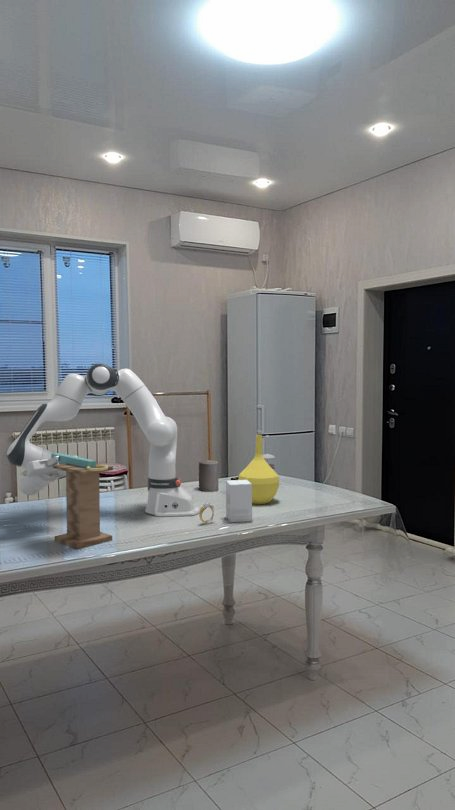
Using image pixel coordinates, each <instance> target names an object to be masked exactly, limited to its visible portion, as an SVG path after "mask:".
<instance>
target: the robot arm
mask: <svg viewBox="0 0 455 810" xmlns="http://www.w3.org/2000/svg"><path fill="white" fill-rule="evenodd" d="M110 391H113V392H115V393H116V394H117V395H118V396H119V397H120V399H121V400H122V401H123V403H124V404H125V407H127V408H128V409H129V411H130V413H131V414H132V415H133V416H134V418H135V420H136V421H137V424H138V426H139V427H140V429H141V430H142V432H143V434H144V435H145V437H146V439H147V440H148V442H149V443H150V444H149V445H150V446H149V447H150V449H149V456H148V478H147V492H148V495H147V502H146V506H145V510H144V512H145V513H146V514H149V515H154V516H155V517H181V516H182V517H183V516H184V517H185V516H187V517H188V516H195V515H199V511H200V506H198V505H195V500H194V497H193V495H192V494H191V493H190V492H189V491H187V490H186V489H185V488H184V487H182V486H181V483H182V482H181V478H179V477H177V476H176V475H177V473H176V469H177V467H176V465H177V463H176V461H177V459H176V458H177V445H178V444H177V443H178V442H177V441H178V425H177V423H176V421H175V420H174V419H173V418H171V417H169V416H166V415H165V414H164V412H163V410H162V408H161V407H160V405H159V403H158V402H157V401H158V400H157V399H156V398H155V396H154V395H153V394H152V393H151V391H150V390H149V388H147V386H146V385H145V383H144V382H143V380H141V378H140V377H139V376H138V375H137V374H136V373H135V372H133V371H132V370H131V369H130V368H122V369H119V370H117V369H116V368H114V367H112V366H109V365H107V364H105V363H95V364H94V365H92V366H90V367H89V369H88V370H87V373H86V374H84V375H80V374H78V373H69V374H66V375H65V377H64V378H63V380H62V381H61V383H60V385H59V386H58V387H57V390H56V391H55V394H54V396H53V397H52V399H50V401H48V403H42V404H41V405H40V406H38V408H37V409H36V411H35V412H34V413H33V414H32V415H31V417H30V418H29V420H27V421H28V422H27V423H26V424H25V426H24V427H23V428H22V430H21V431H20V433H19V434H18V435H17V437H16V438H15V439H14V441H13V442H12V443H11V444H10V445H9V447H8V449H7V451H6V459H7V461H8V462H9V464H10V465H13V466H17V467H21V468H23V469H24V470H23V471H22V472H21V473H20V474H21V476H22V477H21V479H20V480H19V482H18V489H19V490H20V492H21V493H22V494H24V495H27V496H34V495H37V494H39V493H40V492H41V491H43V490H44V489H45V488H47V486H48V485H50V484H51V483H55V481H56V482H57V481H58V480H62V479H64V478H65V479H66V471H64V470H59V469H55V468H53V465H59V464H66V463H62V462H59V461H60V456H55V457H53V458H51V454H52V453H54V452H52V451H51V450H48V449H46V448H44V447H40V446H38V445H36V444H33V443H31V441H30V440H31V439H32V438H33V436H34V435H35V433H36V432H37V430H38V428H39V427H40V426H41V425H42V424H43V423H45V422H67V421H70V420H73V419H74V418H76V416H77V415H78V413H79V411H80V409H81V406H82V404H83V403H84V399H85V398H86V397H87V396H93V397H101V396H105V395H106V394H108V393H109V392H110ZM66 455H69V454H66ZM74 456H75V457H79V456H78V455H77V454H76V455H74Z"/></svg>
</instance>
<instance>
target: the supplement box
mask: <svg viewBox="0 0 455 810" xmlns="http://www.w3.org/2000/svg"><path fill="white" fill-rule="evenodd" d="M225 493H226V494H225V502H226V503H225V517H226V519H227V518H228V519H227V520H228V521H229V523H242V522H245V523H246V522H252V521H253V503H252V484H251V483H250V482H249V481H248V480H238V479H235V480H234V479H233V480H230V479H229V480H226V481H225Z"/></svg>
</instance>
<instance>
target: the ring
mask: <svg viewBox="0 0 455 810" xmlns="http://www.w3.org/2000/svg"><path fill="white" fill-rule="evenodd" d="M207 508H209V509H210V510H211V512H212V515H211V518H210V519H209V520H205V519H203V516H202V515H203V513H204V511H206V509H207ZM199 509H200V511H199V513H198V518H199V520H200V521H201V522H202V523H204V524H207V523H208V524H210V523H211V522H212V521H214V519H215V516H216V509H215V507H214V505H212V504H211V502H208V503H207V502H204V503H203V504H202V505H201V506H200V507H199Z"/></svg>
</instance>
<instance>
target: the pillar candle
mask: <svg viewBox="0 0 455 810" xmlns="http://www.w3.org/2000/svg"><path fill="white" fill-rule="evenodd" d="M209 459H210V458H209ZM209 459H208V460H200V461H199V462H198V491H200V492H204V493H205V492H208V493H209V492H211V493H212V492H217V491H219V461H217V460H209Z"/></svg>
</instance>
